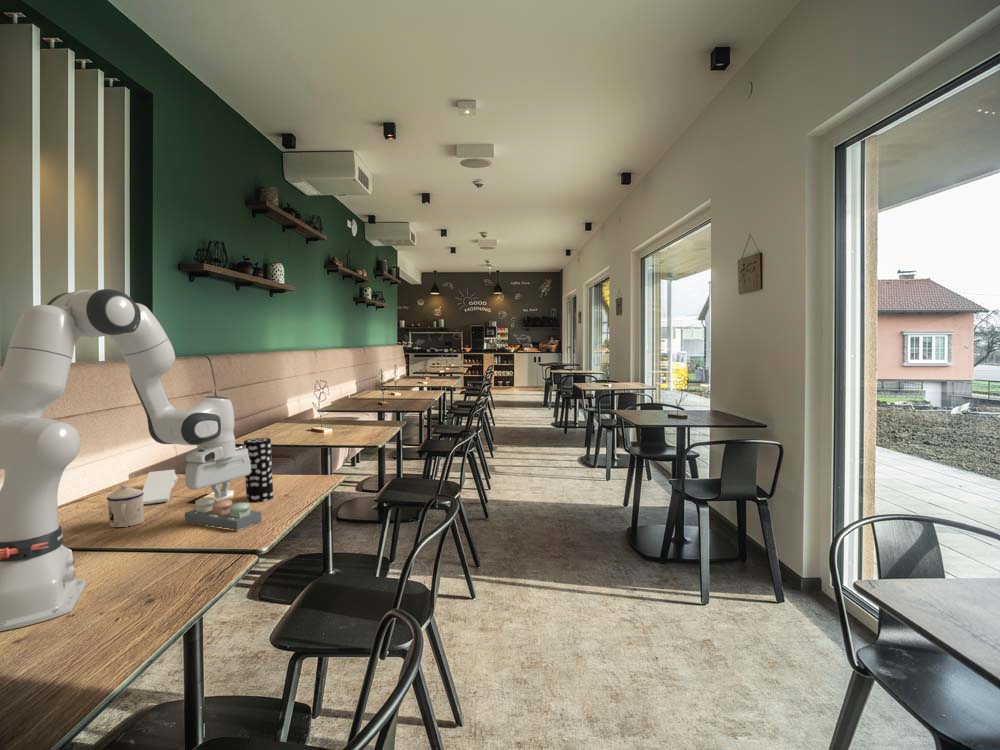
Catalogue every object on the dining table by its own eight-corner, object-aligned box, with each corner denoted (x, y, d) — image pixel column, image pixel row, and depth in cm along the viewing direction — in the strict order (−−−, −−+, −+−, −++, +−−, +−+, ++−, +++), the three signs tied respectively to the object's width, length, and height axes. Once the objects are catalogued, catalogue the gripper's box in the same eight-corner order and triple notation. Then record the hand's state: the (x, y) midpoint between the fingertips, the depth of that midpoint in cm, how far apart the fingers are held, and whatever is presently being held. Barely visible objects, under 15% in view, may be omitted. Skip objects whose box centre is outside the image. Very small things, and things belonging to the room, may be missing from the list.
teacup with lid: (111, 521, 171) (108, 483, 170) (146, 516, 175) (144, 479, 174) (104, 534, 160) (101, 493, 159) (142, 528, 164) (140, 489, 163)
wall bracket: (168, 519, 190) (175, 488, 214) (173, 499, 189) (179, 469, 214) (133, 517, 185) (144, 485, 210) (138, 496, 184) (149, 466, 209)
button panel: (261, 521, 169) (261, 511, 168) (237, 531, 161) (236, 520, 160) (210, 513, 177) (209, 503, 177) (185, 522, 169) (184, 512, 168)
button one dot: (219, 514, 173) (218, 498, 172) (204, 519, 168) (203, 503, 168) (207, 512, 175) (206, 496, 174) (192, 517, 170) (191, 501, 170)
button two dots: (254, 519, 167) (253, 503, 167) (240, 525, 162) (239, 508, 162) (241, 517, 169) (240, 501, 169) (226, 523, 164) (225, 506, 164)
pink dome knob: (236, 517, 170) (235, 500, 170) (222, 522, 165) (221, 506, 165) (223, 515, 172) (223, 499, 172) (209, 520, 167) (208, 504, 167)
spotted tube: (277, 498, 192) (274, 439, 191) (253, 504, 186) (250, 443, 185) (266, 493, 198) (263, 437, 196) (242, 499, 192) (239, 440, 190)
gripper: (239, 443, 178) (241, 487, 178) (180, 456, 159) (182, 505, 160) (254, 445, 175) (256, 489, 176) (196, 458, 156) (198, 507, 157)
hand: (221, 497), depth 168 cm, fingers closed
